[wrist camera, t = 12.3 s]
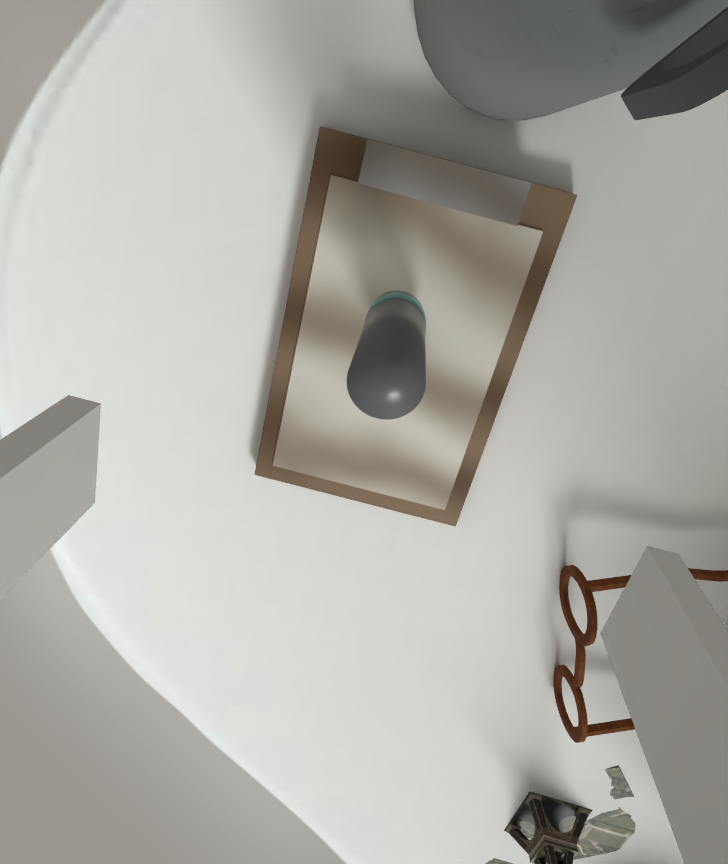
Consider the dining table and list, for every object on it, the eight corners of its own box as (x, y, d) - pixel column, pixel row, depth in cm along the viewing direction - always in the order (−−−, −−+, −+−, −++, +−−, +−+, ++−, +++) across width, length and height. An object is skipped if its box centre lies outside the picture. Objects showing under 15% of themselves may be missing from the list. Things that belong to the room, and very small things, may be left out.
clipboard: (454, 519, 39) (456, 537, 37) (257, 468, 39) (249, 483, 37) (573, 194, 31) (582, 196, 29) (322, 126, 30) (315, 125, 28)
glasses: (560, 548, 40) (577, 599, 35) (774, 545, 38) (821, 597, 34) (551, 696, 45) (565, 757, 40) (738, 699, 43) (775, 762, 39)
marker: (417, 348, 34) (414, 429, 24) (362, 334, 34) (337, 409, 24) (433, 294, 32) (437, 355, 22) (376, 279, 32) (355, 333, 22)
